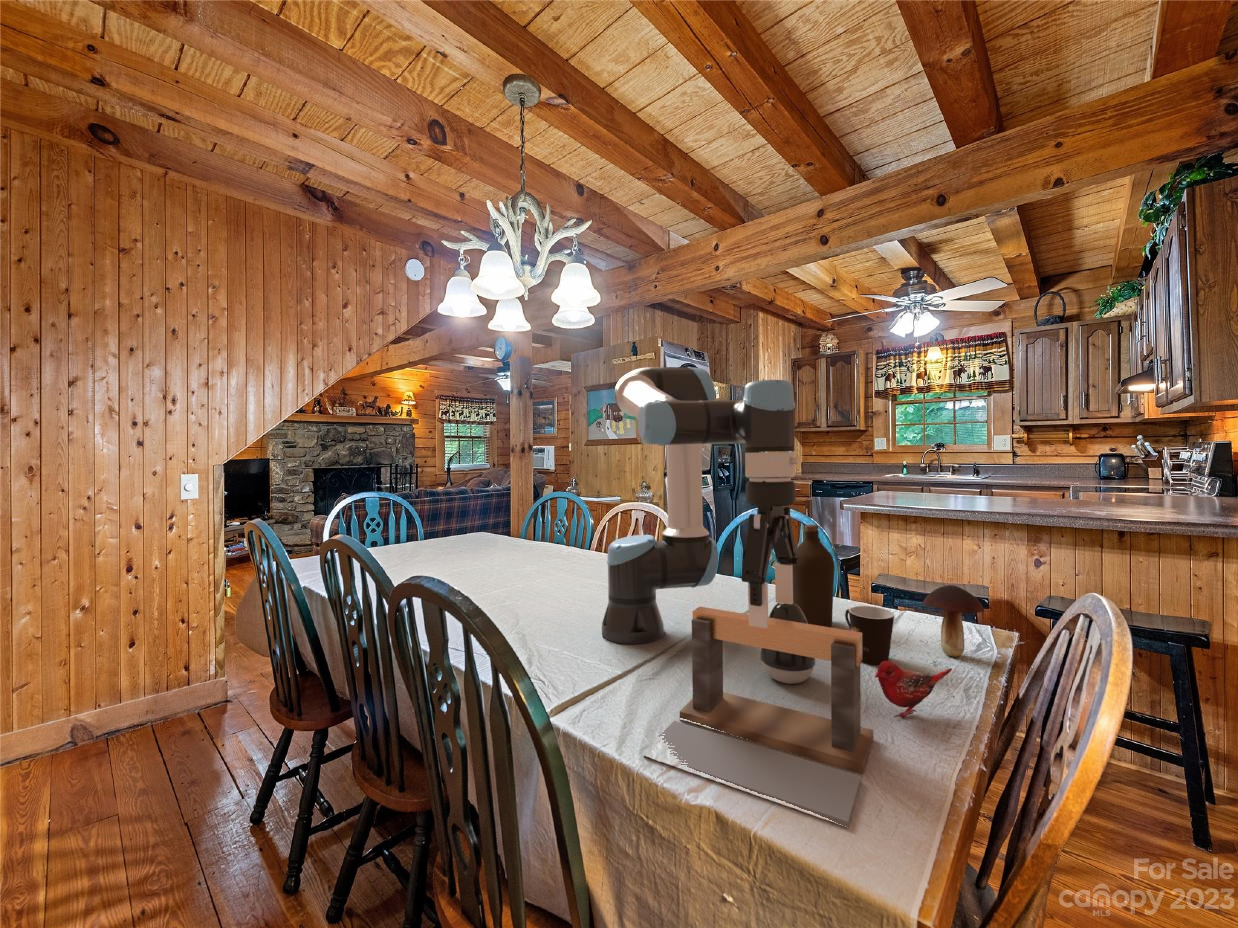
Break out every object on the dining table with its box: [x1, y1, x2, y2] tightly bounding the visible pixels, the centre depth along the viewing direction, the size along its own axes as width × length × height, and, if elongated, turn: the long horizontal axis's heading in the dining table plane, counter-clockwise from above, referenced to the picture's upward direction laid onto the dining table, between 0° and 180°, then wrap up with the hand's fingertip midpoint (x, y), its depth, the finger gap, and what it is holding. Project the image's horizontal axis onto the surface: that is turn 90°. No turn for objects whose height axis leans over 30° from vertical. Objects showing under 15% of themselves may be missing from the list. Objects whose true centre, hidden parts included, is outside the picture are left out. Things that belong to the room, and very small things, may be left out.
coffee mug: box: [844, 605, 895, 667], centre depth 112 cm, size 12×9×10 cm
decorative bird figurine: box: [874, 660, 953, 718], centre depth 88 cm, size 3×18×10 cm, turn 111°
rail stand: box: [679, 618, 874, 775], centre depth 84 cm, size 28×10×16 cm, turn 57°
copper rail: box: [692, 606, 862, 667], centre depth 84 cm, size 26×3×4 cm, turn 57°
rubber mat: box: [658, 720, 862, 828], centre depth 74 cm, size 28×10×1 cm, turn 57°
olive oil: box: [790, 523, 836, 628], centre depth 132 cm, size 11×11×25 cm
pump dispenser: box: [759, 602, 817, 685], centre depth 102 cm, size 10×10×15 cm
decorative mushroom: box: [922, 584, 985, 658], centre depth 111 cm, size 11×11×15 cm
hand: (772, 613), depth 83 cm, fingers open, 13 cm apart
